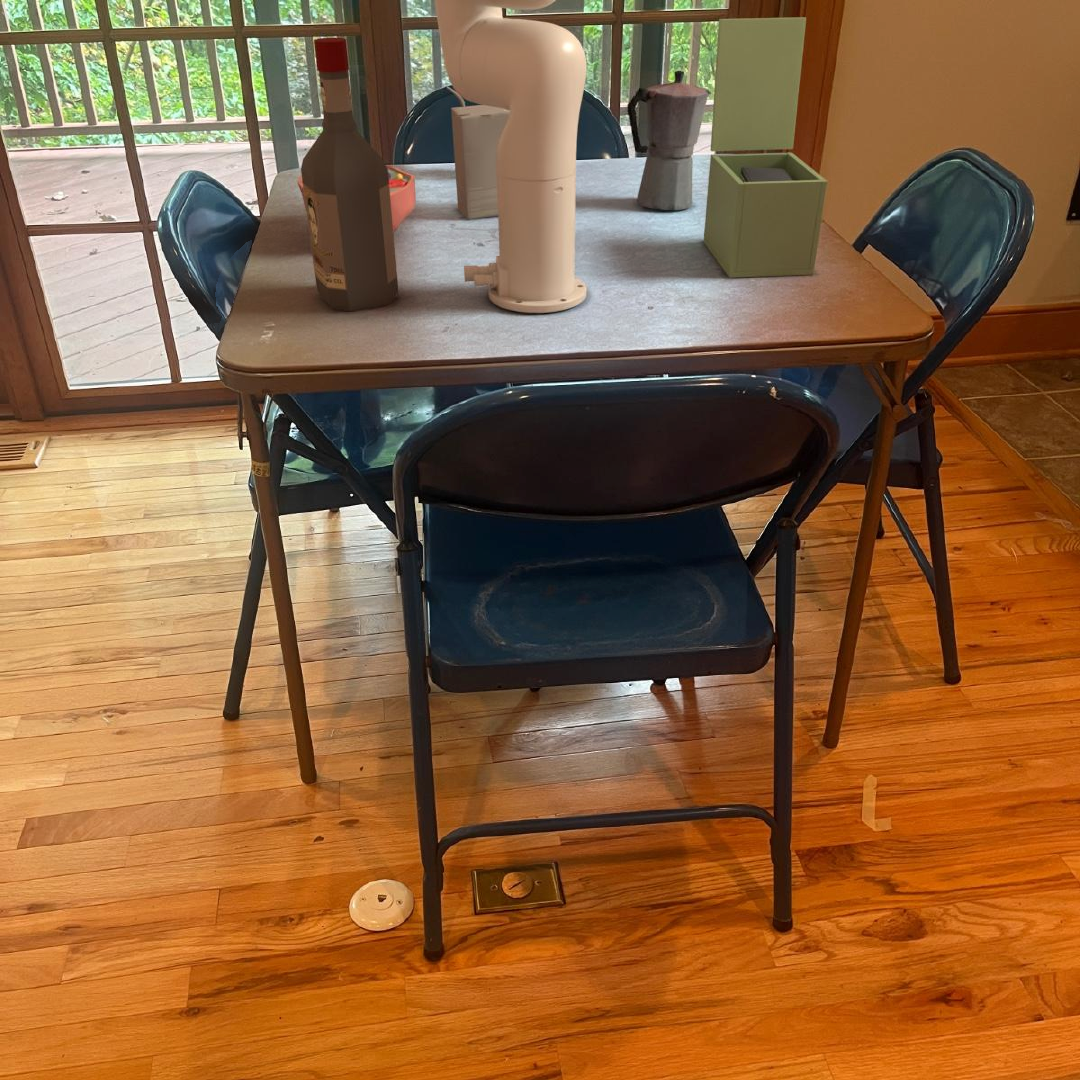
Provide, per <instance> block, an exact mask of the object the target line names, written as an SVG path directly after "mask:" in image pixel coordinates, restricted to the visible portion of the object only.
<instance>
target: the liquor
mask: <svg viewBox="0 0 1080 1080" xmlns="http://www.w3.org/2000/svg"><path fill="white" fill-rule="evenodd" d="M313 46H314V54H315V62H316V71H317V72H318V76H319V77H318V78H319V85H320V86H319V87H320V96H321V103H322V115H323V120H322V123H321V127H322V131H321V132H320V134H319V135H318V137H317V138H316V139H315V141H314V142H313V144H312V145H311V147H310V148H309V150H308V151H307V153H306V154H305V156H304V157H303V159H302V161H301V162H302V163H301V167H300V173H301V174H300V175H302V182H303V189H304V197H305V204H306V208H305V212H306V211H307V212H306V218H307V226H308V233H309V241H310V247H311V249H310V250H311V257H312V262H313V269H314V278H315V285H316V291H317V292H318V294H319V295H320V297H321V298H322V300H324V302H325V303H326V304H327V305H328V306H329V307H330V308H331V309H332V310H337V311H345V312H355V311H361V310H367V309H374V308H378V307H384V306H387V305H389V304H390V303H392V301H394V300H395V299H396V298H397V295H398V293H399V283H398V270H397V259H396V250H395V249H396V248H395V237H394V235H395V234H394V233H393V224H392V212H391V201H390V189H389V178H388V169H387V167H386V166H387V164H386V162H385V160H384V159H383V157H381V155H380V154H379V153H378V152H377V151H376V150H375V149H374V147H373V146H372V145H371V144H370V143H369V142H368V141H367V140H366V139H365V137H363V135H362V134H361V133H360V132H359V131H358V130H357V129H358V128H357V122H356V120H355V118H354V110H353V106H352V104H353V103H352V96H351V95H352V93H351V85H350V77H349V70H350V62H349V55H348V45H347V39H346V38H344V37H321V38H315V39H313ZM305 204H304V205H305Z"/></svg>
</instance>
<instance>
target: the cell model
mask: <svg viewBox="0 0 1080 1080" xmlns="http://www.w3.org/2000/svg"><path fill="white" fill-rule="evenodd" d="M386 167H387V169H388V178H389V189H390V201H391V212H392V224H393V234H395V232H396V231H397V229H398V228H399V226H400V225H401V224H402V222H403V221H404V220H405V219H406V218H407V217H408V216H410V214H411V213H412V212H413V210H414V209H415V206H416V203H417V195H416V181H415V180H416V179H415V175H413V174H412V173H411V174H410V173H408V172H406V171H404V170H401V169H400V168H398V167H396V166H395V167H394V166H390V165H386ZM296 183H297V186H298V188H299V191H300V193H301V196H302V201H303V204H304V208H305V209H306V204H305V197H304V189H303V182H302V174H300V175H299V177H298V179H297V180H296ZM305 212H306V213H307V211H306V210H305Z"/></svg>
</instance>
